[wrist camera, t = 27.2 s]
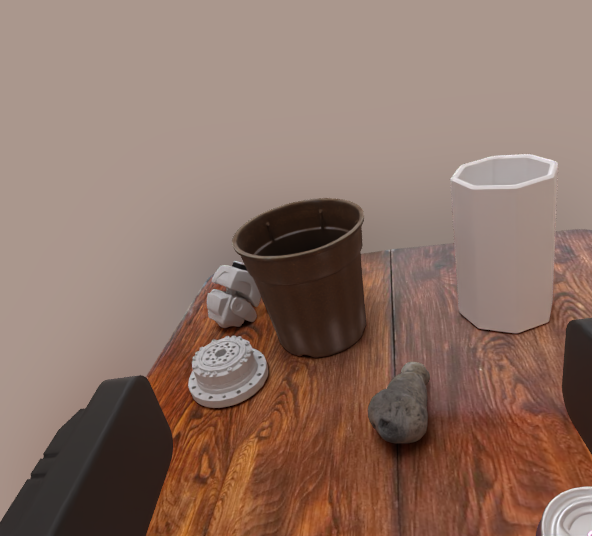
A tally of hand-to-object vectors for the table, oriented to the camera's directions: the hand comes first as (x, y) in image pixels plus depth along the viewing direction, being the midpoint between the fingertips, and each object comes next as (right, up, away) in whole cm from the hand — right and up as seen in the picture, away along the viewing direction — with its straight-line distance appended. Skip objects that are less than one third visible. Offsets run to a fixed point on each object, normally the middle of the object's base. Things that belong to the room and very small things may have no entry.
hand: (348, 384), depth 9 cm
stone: (+10, -13, +40) cm, 43 cm away
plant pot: (+3, -7, +56) cm, 56 cm away
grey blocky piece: (-9, -6, +63) cm, 64 cm away
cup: (+26, -3, +52) cm, 58 cm away
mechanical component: (-9, -12, +51) cm, 53 cm away
